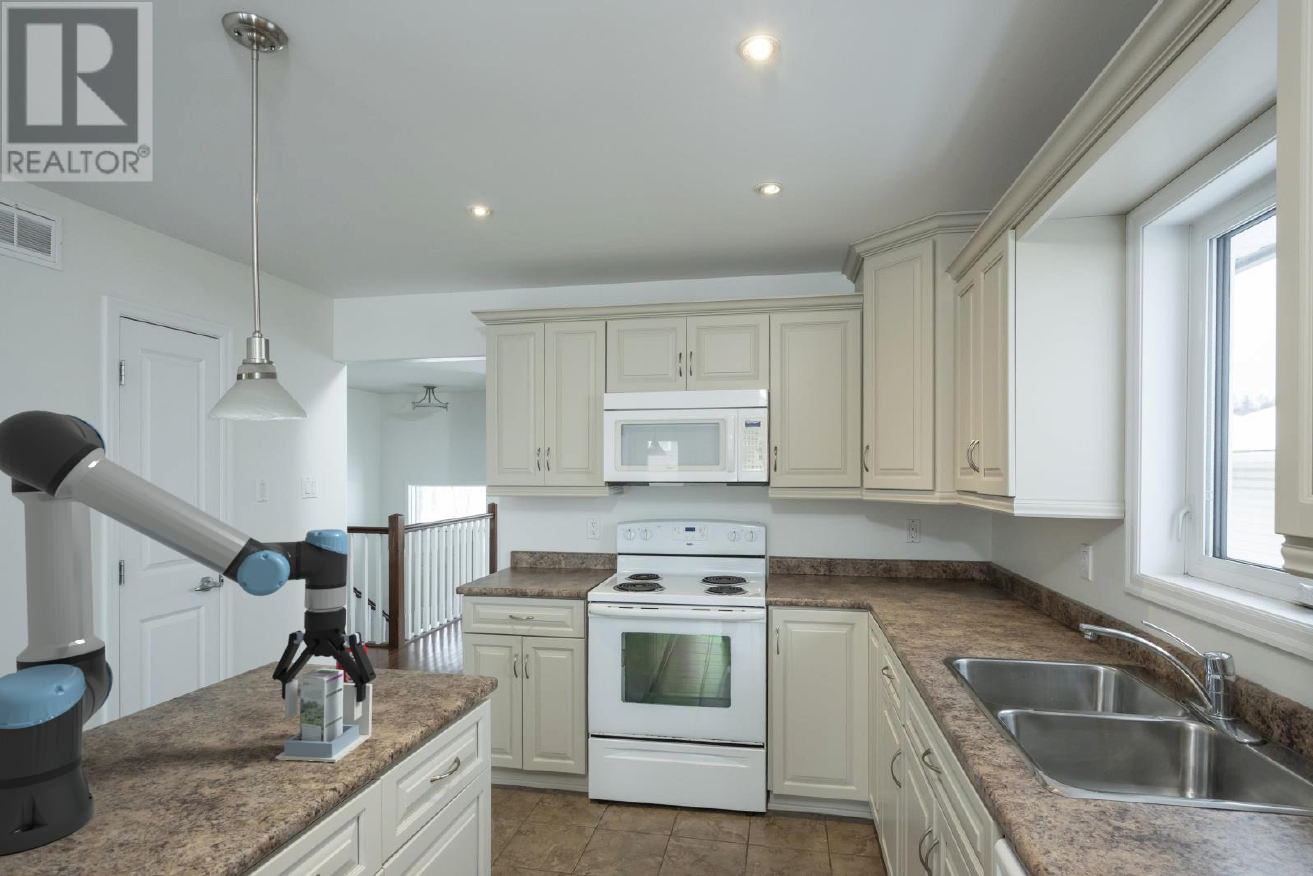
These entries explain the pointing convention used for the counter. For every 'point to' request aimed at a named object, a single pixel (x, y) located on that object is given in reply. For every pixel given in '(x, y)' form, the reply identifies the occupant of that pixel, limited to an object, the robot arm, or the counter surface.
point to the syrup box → (321, 705)
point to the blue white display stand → (342, 744)
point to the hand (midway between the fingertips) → (323, 717)
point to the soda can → (338, 667)
